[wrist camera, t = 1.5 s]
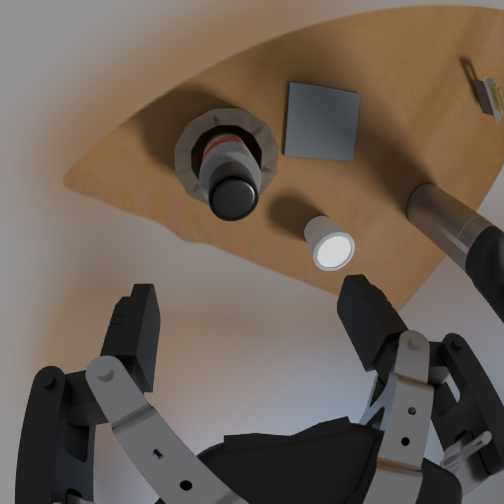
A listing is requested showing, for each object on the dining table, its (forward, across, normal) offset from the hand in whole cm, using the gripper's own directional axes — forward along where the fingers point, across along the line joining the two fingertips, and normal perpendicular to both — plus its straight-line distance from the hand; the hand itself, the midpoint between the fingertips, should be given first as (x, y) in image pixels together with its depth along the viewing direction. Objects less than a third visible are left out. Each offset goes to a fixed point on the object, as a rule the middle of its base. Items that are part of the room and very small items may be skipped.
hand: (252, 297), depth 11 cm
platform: (+31, -50, -20) cm, 62 cm away
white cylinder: (+30, -16, +13) cm, 37 cm away
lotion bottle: (+31, 0, 0) cm, 31 cm away
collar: (+30, 0, 0) cm, 30 cm away
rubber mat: (+30, -14, -5) cm, 34 cm away
